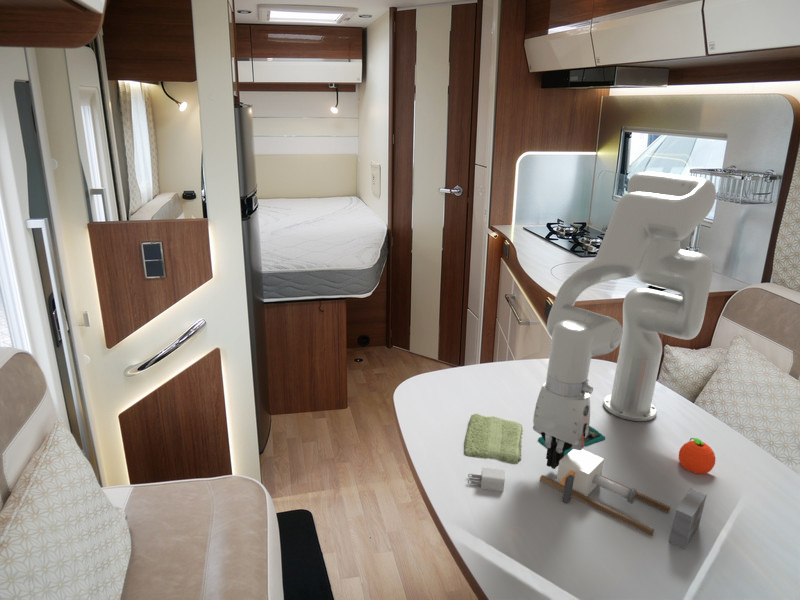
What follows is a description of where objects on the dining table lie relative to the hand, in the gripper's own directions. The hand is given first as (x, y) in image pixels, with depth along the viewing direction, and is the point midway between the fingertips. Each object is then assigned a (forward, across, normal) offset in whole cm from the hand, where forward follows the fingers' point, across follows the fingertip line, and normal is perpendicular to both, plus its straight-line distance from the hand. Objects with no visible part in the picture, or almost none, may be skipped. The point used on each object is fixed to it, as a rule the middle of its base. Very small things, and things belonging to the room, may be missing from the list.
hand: (553, 464), depth 120 cm
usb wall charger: (+3, +8, +13) cm, 15 cm away
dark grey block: (+2, -6, +6) cm, 9 cm away
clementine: (+3, -20, -24) cm, 32 cm away
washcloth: (+4, +16, -2) cm, 16 cm away
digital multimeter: (+4, +3, -14) cm, 15 cm away
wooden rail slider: (+3, -12, +1) cm, 13 cm away
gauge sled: (+2, -9, +2) cm, 10 cm away
